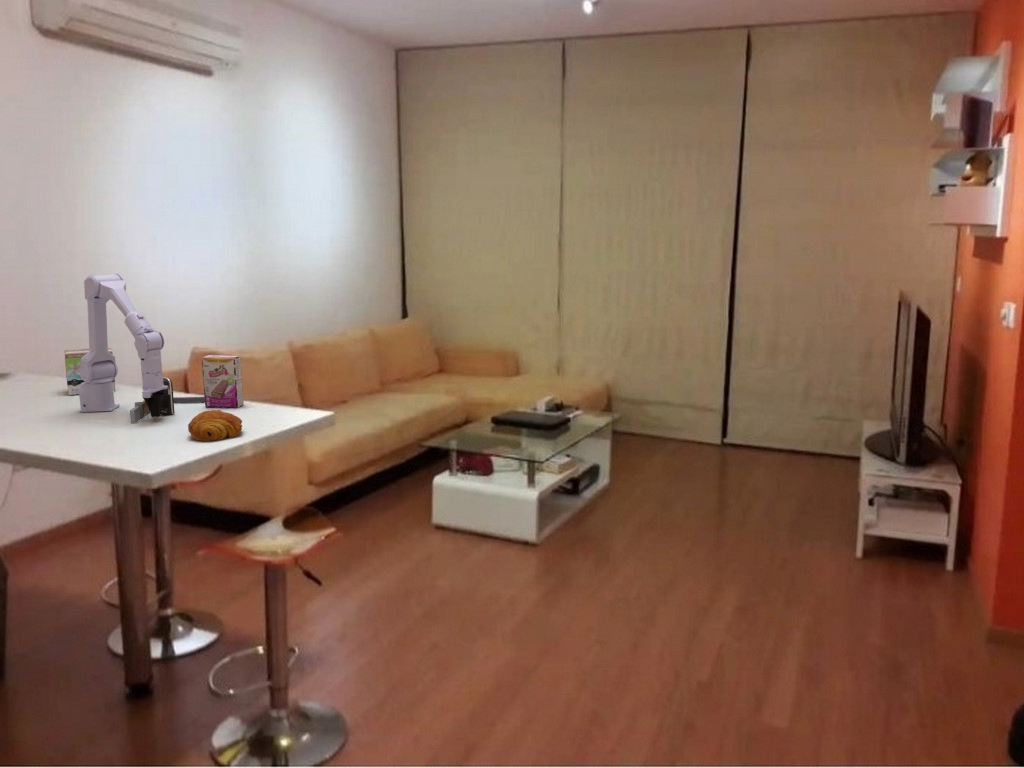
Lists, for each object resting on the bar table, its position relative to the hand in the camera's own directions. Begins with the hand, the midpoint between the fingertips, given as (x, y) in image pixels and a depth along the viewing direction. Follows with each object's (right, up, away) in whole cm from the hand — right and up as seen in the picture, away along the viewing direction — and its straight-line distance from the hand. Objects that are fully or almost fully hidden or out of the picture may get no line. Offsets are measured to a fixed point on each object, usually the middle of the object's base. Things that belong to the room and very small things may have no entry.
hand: (155, 416), depth 258 cm
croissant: (+24, -5, -18) cm, 31 cm away
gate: (-6, +1, +8) cm, 10 cm away
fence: (-6, 0, +8) cm, 10 cm away
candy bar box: (+15, +2, +18) cm, 23 cm away
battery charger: (-1, 0, +8) cm, 8 cm away
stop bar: (-2, +4, +23) cm, 23 cm away
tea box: (-40, +7, +43) cm, 59 cm away
